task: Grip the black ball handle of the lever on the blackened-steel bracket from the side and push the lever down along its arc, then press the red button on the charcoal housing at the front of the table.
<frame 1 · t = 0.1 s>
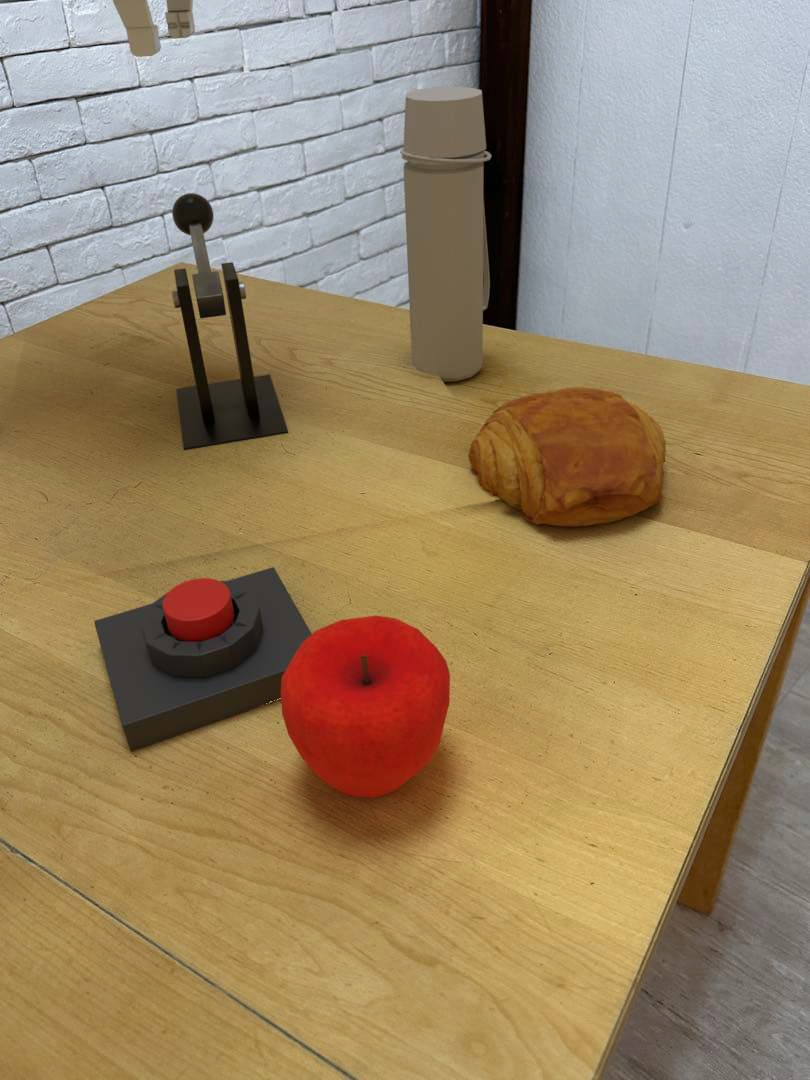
hand: (166, 45, 68), 30 cm above the table, tool pointing down, fingers open, 8 cm apart
button box: (211, 664, 57), on the table
apple: (374, 766, 50), on the table
bracket: (231, 421, 83), on the table
croissant: (569, 486, 72), on the table
water bottle: (454, 368, 91), on the table
button: (198, 609, 54), point 4 cm above the table, slide at 0.1 cm
lever: (200, 252, 79), point 14 cm above the table, hinge at 25.0°
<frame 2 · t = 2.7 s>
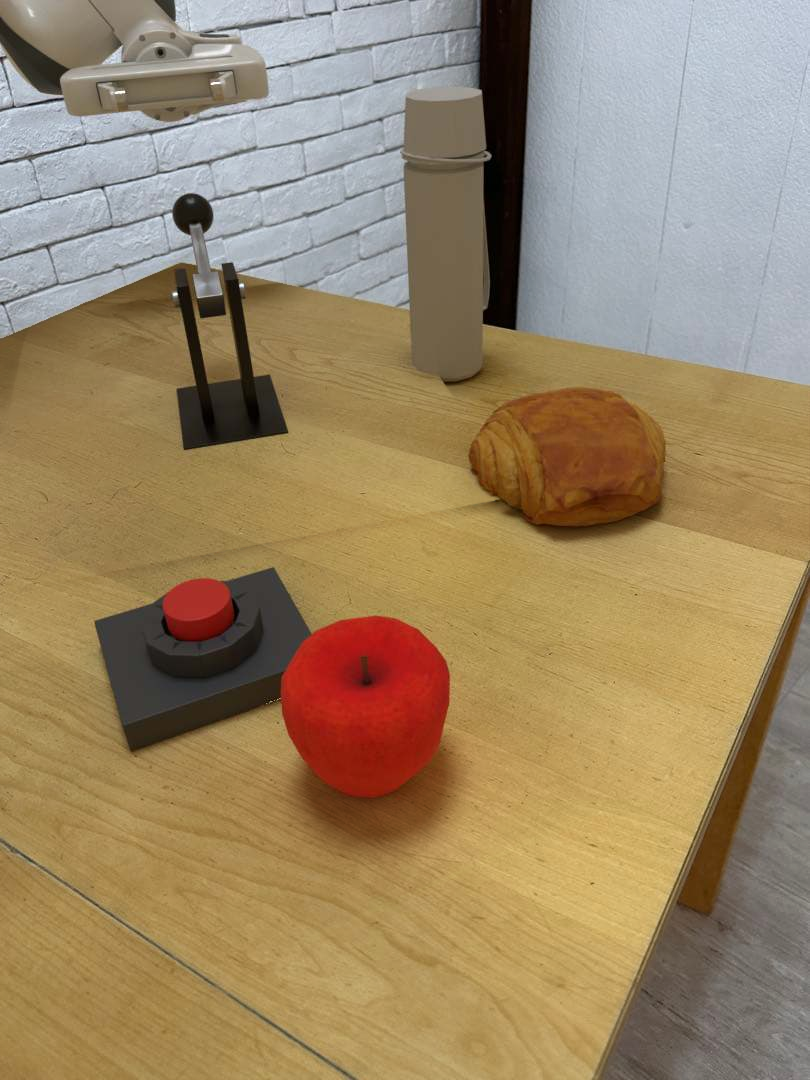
hand: (169, 96, 86), 24 cm above the table, tool horizontal, fingers open, 8 cm apart
nothing on the table moved.
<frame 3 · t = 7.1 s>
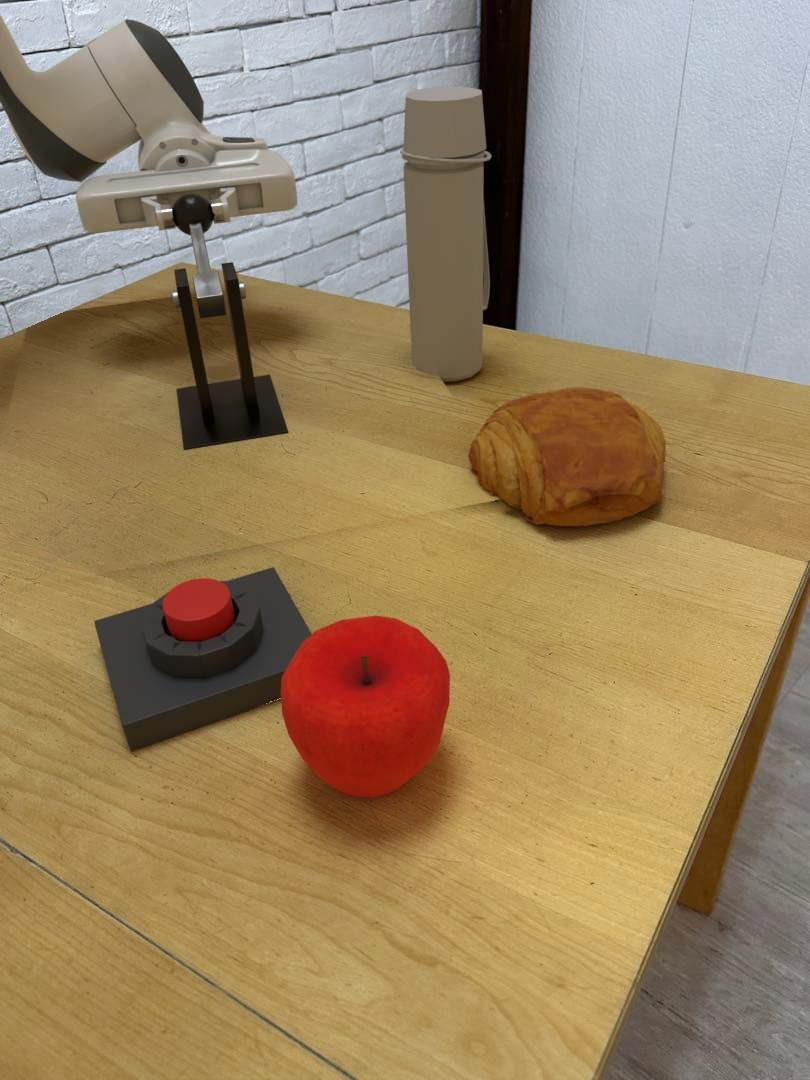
hand: (194, 217, 80), 16 cm above the table, tool horizontal, fingers closed on lever, 3 cm apart
lever: (200, 251, 79), point 14 cm above the table, hinge at 25.0°, touching gripper
everything else where it was.
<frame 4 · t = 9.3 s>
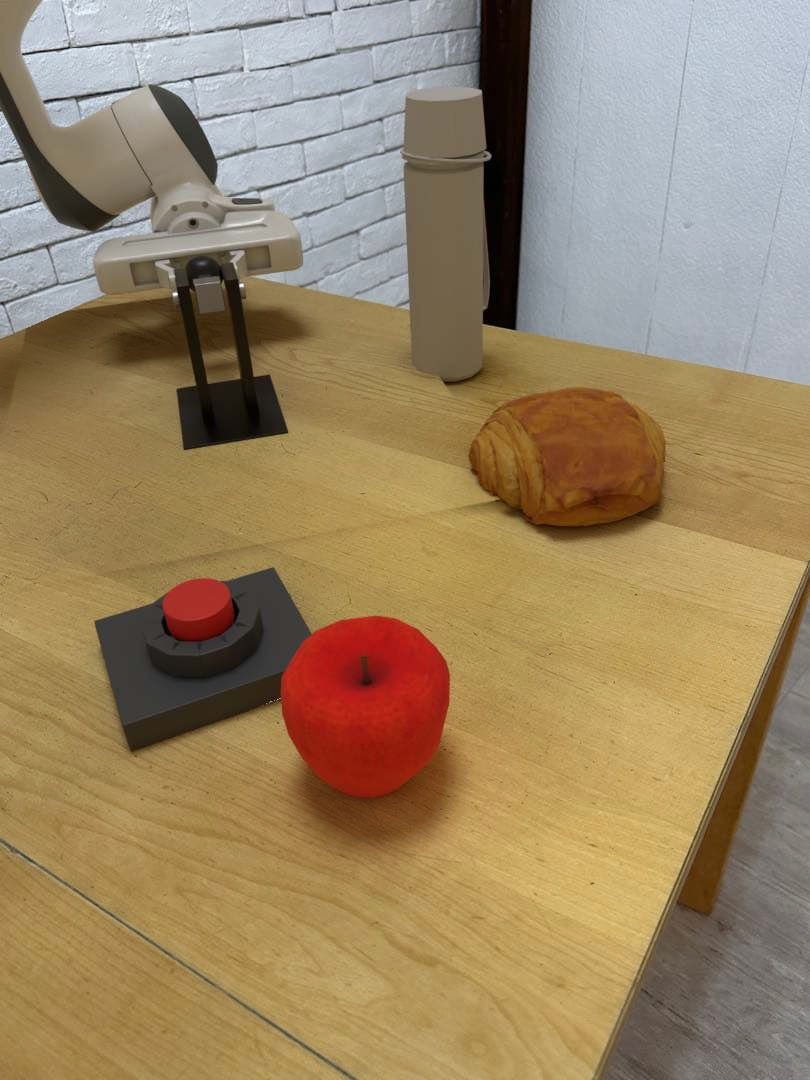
hand: (205, 281, 84), 10 cm above the table, tool horizontal, fingers closed on lever, 3 cm apart
lever: (206, 284, 81), point 11 cm above the table, hinge at -9.0°, touching gripper
everything else where it was.
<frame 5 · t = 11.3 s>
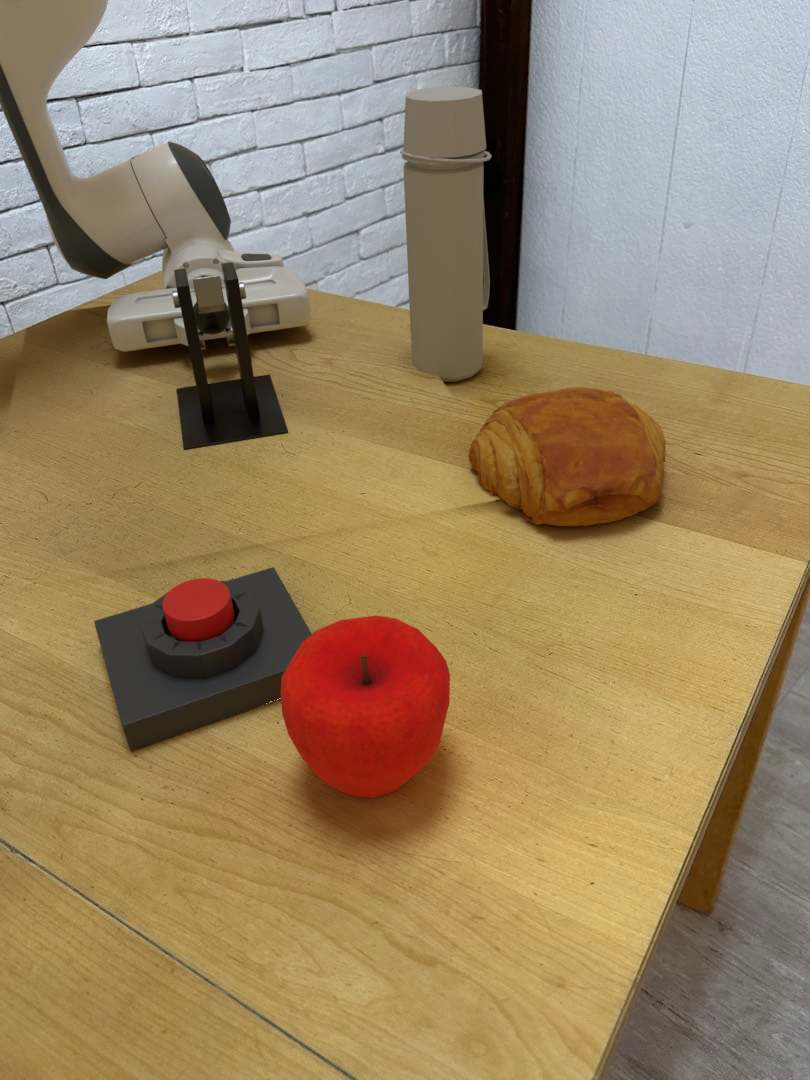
hand: (216, 340, 87), 5 cm above the table, tool horizontal, fingers closed on lever, 2 cm apart
lever: (210, 306, 81), point 9 cm above the table, hinge at -30.3°, touching gripper
everything else where it was.
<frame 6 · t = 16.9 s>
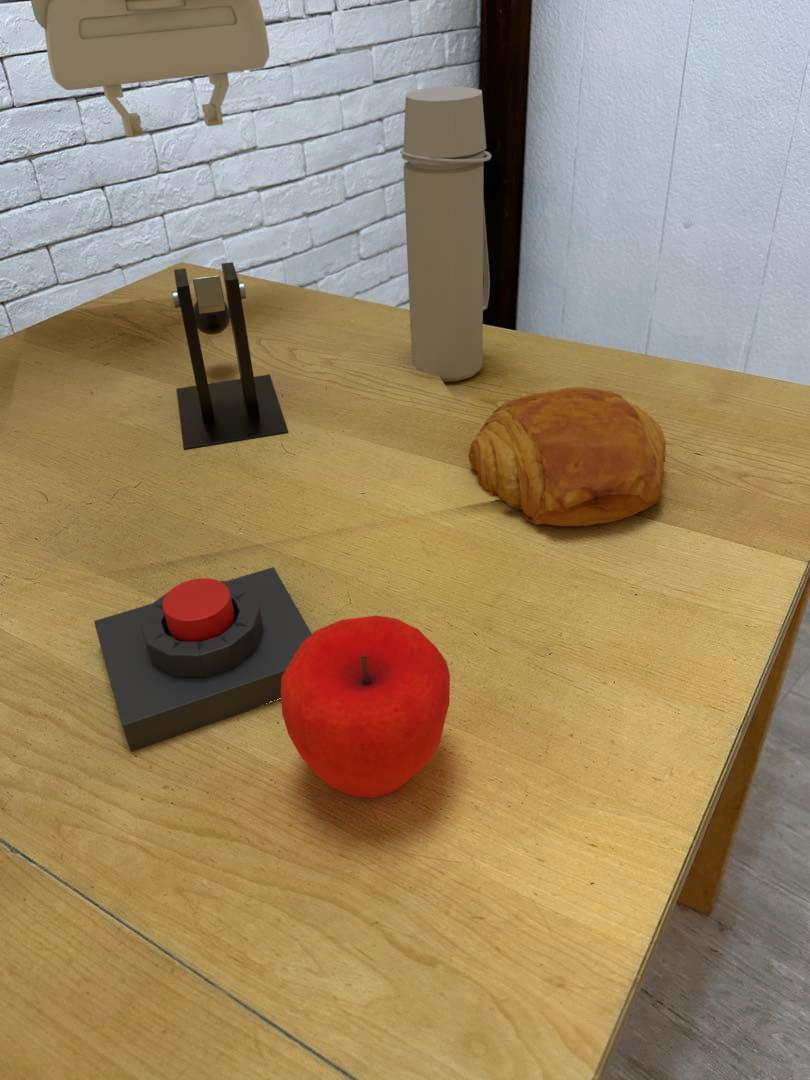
hand: (174, 129, 89), 21 cm above the table, tool pointing down, fingers open, 6 cm apart
lever: (210, 306, 81), point 9 cm above the table, hinge at -30.3°
everything else where it was.
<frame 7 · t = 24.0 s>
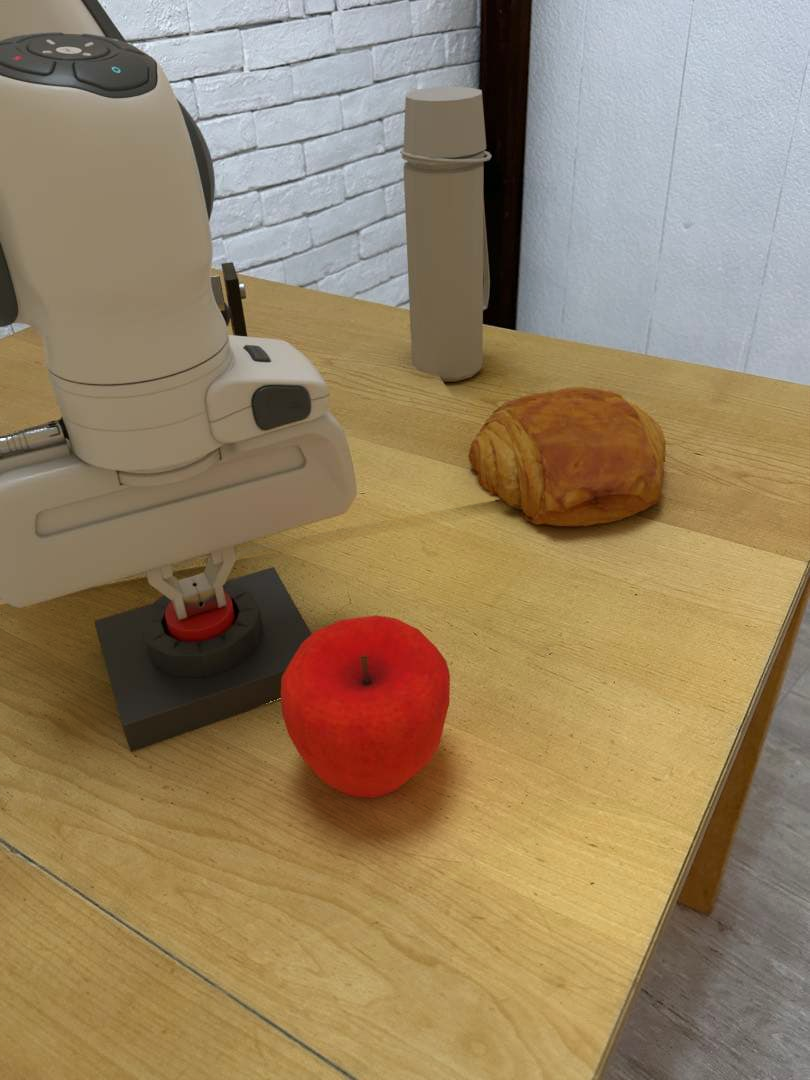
hand: (200, 607, 54), 5 cm above the table, tool pointing down, fingers closed, pressing on button
button: (201, 619, 55), point 4 cm above the table, slide at -0.7 cm, touching gripper
everything else where it was.
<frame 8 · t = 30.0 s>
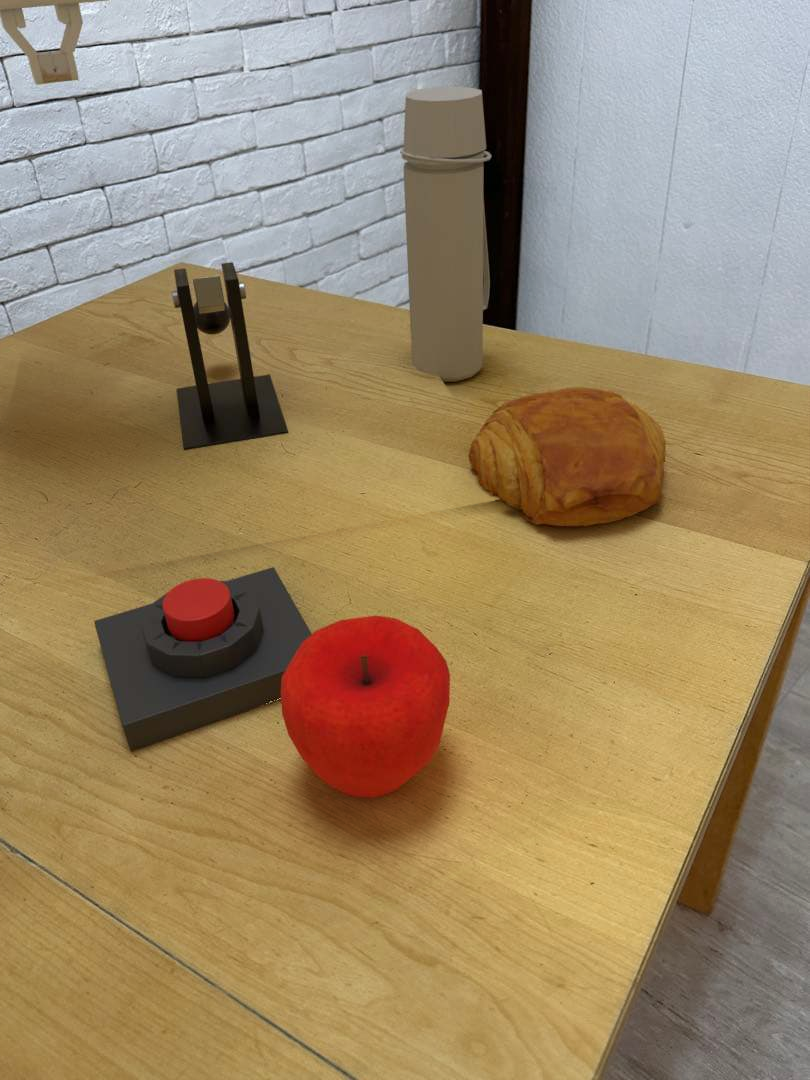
hand: (56, 81, 64), 29 cm above the table, tool pointing down, fingers closed
button: (198, 609, 54), point 4 cm above the table, slide at 0.1 cm
everything else where it was.
at the end: lever at -30° (first picture: +25°); button pushed in 1.0 cm at the most during the clip, back to where it started at the end; button slide at 0.1 cm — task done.
